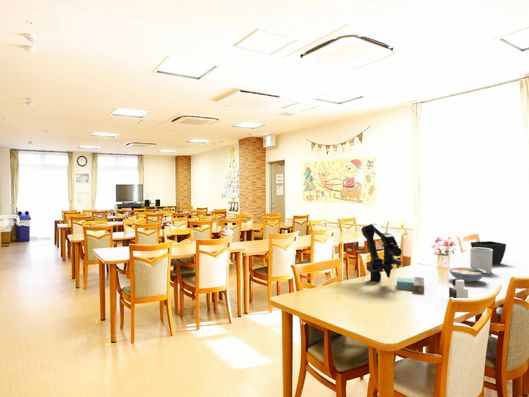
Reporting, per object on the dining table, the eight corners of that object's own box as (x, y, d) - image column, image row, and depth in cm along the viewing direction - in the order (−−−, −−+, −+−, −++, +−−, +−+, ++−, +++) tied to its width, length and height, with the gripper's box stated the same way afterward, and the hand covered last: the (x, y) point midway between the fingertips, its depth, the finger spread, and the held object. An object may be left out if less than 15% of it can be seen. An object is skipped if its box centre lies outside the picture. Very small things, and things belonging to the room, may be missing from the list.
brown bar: (413, 293, 226) (413, 285, 226) (414, 284, 246) (414, 276, 246) (424, 294, 224) (424, 285, 224) (424, 285, 244) (424, 277, 244)
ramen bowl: (443, 276, 265) (443, 264, 265) (478, 277, 261) (478, 265, 260) (454, 285, 241) (454, 272, 241) (492, 286, 236) (492, 273, 236)
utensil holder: (496, 272, 274) (496, 248, 273) (487, 275, 265) (486, 251, 265) (476, 268, 286) (476, 246, 285) (466, 271, 278) (466, 248, 277)
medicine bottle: (448, 298, 213) (448, 278, 212) (460, 298, 213) (460, 277, 213) (456, 302, 206) (456, 281, 205) (468, 301, 206) (468, 280, 206)
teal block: (396, 289, 235) (396, 281, 235) (397, 285, 245) (397, 277, 245) (413, 290, 232) (413, 282, 232) (413, 286, 241) (413, 278, 241)
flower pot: (470, 261, 316) (469, 241, 315) (490, 260, 318) (490, 240, 317) (485, 265, 297) (485, 244, 296) (507, 264, 299) (507, 244, 298)
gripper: (400, 257, 230) (400, 281, 230) (402, 252, 247) (402, 275, 247) (381, 256, 235) (382, 280, 235) (385, 251, 252) (385, 274, 252)
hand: (388, 277), depth 242 cm, fingers closed
